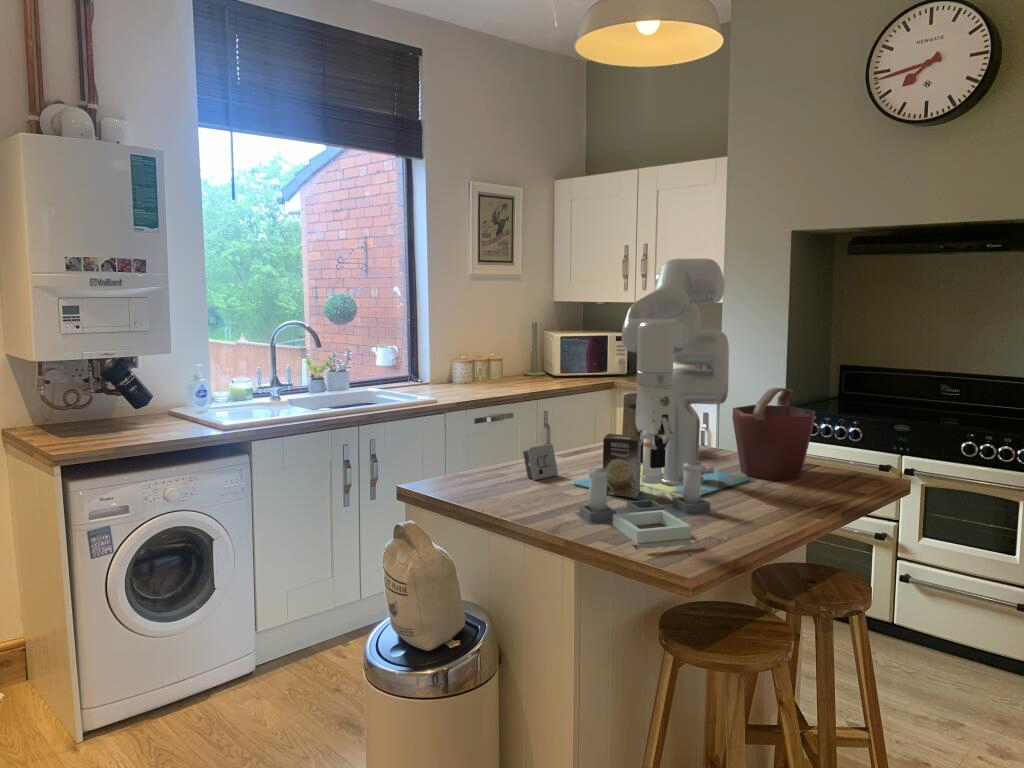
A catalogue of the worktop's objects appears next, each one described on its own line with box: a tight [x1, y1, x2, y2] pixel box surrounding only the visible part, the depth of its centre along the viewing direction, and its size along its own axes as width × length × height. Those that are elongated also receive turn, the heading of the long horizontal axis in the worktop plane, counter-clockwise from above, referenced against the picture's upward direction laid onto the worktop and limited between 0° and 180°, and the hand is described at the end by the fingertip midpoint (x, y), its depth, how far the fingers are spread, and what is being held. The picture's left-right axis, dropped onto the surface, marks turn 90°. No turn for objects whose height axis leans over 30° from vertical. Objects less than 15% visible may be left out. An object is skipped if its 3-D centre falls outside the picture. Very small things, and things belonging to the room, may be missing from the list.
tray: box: [612, 510, 692, 549], centre depth 168 cm, size 12×12×4 cm
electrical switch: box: [522, 443, 559, 481], centre depth 221 cm, size 9×5×9 cm, turn 131°
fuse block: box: [573, 496, 717, 526], centre depth 182 cm, size 32×10×4 cm, turn 106°
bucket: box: [732, 387, 816, 482], centre depth 223 cm, size 24×22×25 cm
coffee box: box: [602, 433, 642, 498], centre depth 198 cm, size 9×6×16 cm
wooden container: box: [621, 392, 643, 445], centre depth 256 cm, size 15×15×22 cm
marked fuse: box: [641, 431, 663, 485], centre depth 165 cm, size 4×4×11 cm
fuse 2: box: [682, 461, 703, 504], centre depth 184 cm, size 4×4×11 cm
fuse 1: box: [588, 467, 608, 513], centre depth 177 cm, size 4×4×11 cm
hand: (652, 464), depth 166 cm, fingers closed on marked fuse, 4 cm apart
